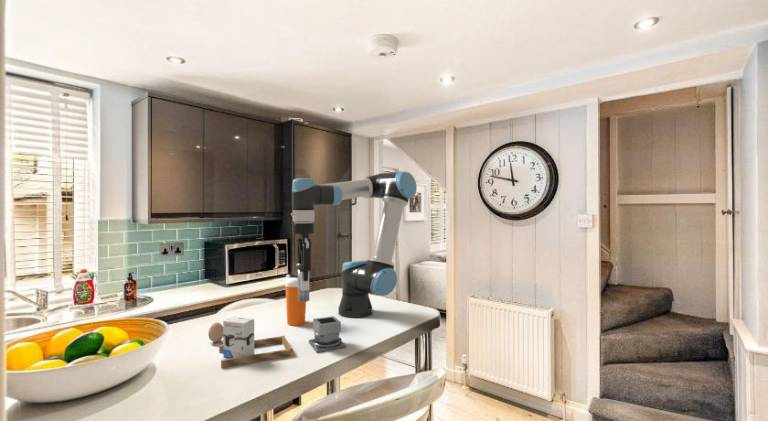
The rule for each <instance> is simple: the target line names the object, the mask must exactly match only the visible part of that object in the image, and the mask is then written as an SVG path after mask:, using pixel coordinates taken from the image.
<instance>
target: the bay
mask: <svg viewBox="0 0 768 421" xmlns="http://www.w3.org/2000/svg"><path fill="white" fill-rule="evenodd" d="M277 344H282V345H283V347H284V349H280V350H274V351H268V352H262V353H254V354H255V355H249V356H242V357H236V358H225V359H220V368H221V369H223V368H228V367H235V366H240V365H246V364H254V363H257V362H264V361H265V362H266V361H269V360H277V359H280V358H281V359H282V358H287V357H293V356H294V354H293V353H294V349H293V347H292V346H291V344H290V343H289V341H288V339H287V337H286V336H285V335H279V336H275V337H274V336H273V337H268V338H267V337H266V338H260V339H254V348H256V347H263V346H264V347H265V346H270V345H277ZM218 347H219V349H218V350H219V351H218V352H219V353H223V344H220V345H218Z"/></svg>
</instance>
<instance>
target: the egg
mask: <svg viewBox="0 0 768 421" xmlns="http://www.w3.org/2000/svg"><path fill="white" fill-rule="evenodd" d="M207 334H208V338H209V340H210V341H211V342H213V343H218V342H220V341H222V339H223V324H221V323H220V322H219V321H217V322H214V323H212V324H211V326H210V327H209V330H208V333H207Z"/></svg>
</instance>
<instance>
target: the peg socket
mask: <svg viewBox="0 0 768 421" xmlns="http://www.w3.org/2000/svg"><path fill="white" fill-rule="evenodd" d="M312 322H313V323H312V329H313V330H314V331H313V332H314V338H311V339H308V344H309V345H310V346H311V348H312V349H313V350H314V352H315V353H316V354H317V353H323V352H329V351H334V350H335V351H336V350H341V349H346V346H347V345H346V344H345V342H343V340H342V338H341V337H340V333H342V322H341V321H340V320H339V319H338V318H337V317H335V316H334V315H333V316H332V315H331V316H326V317H318V318H313V319H312Z"/></svg>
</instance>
